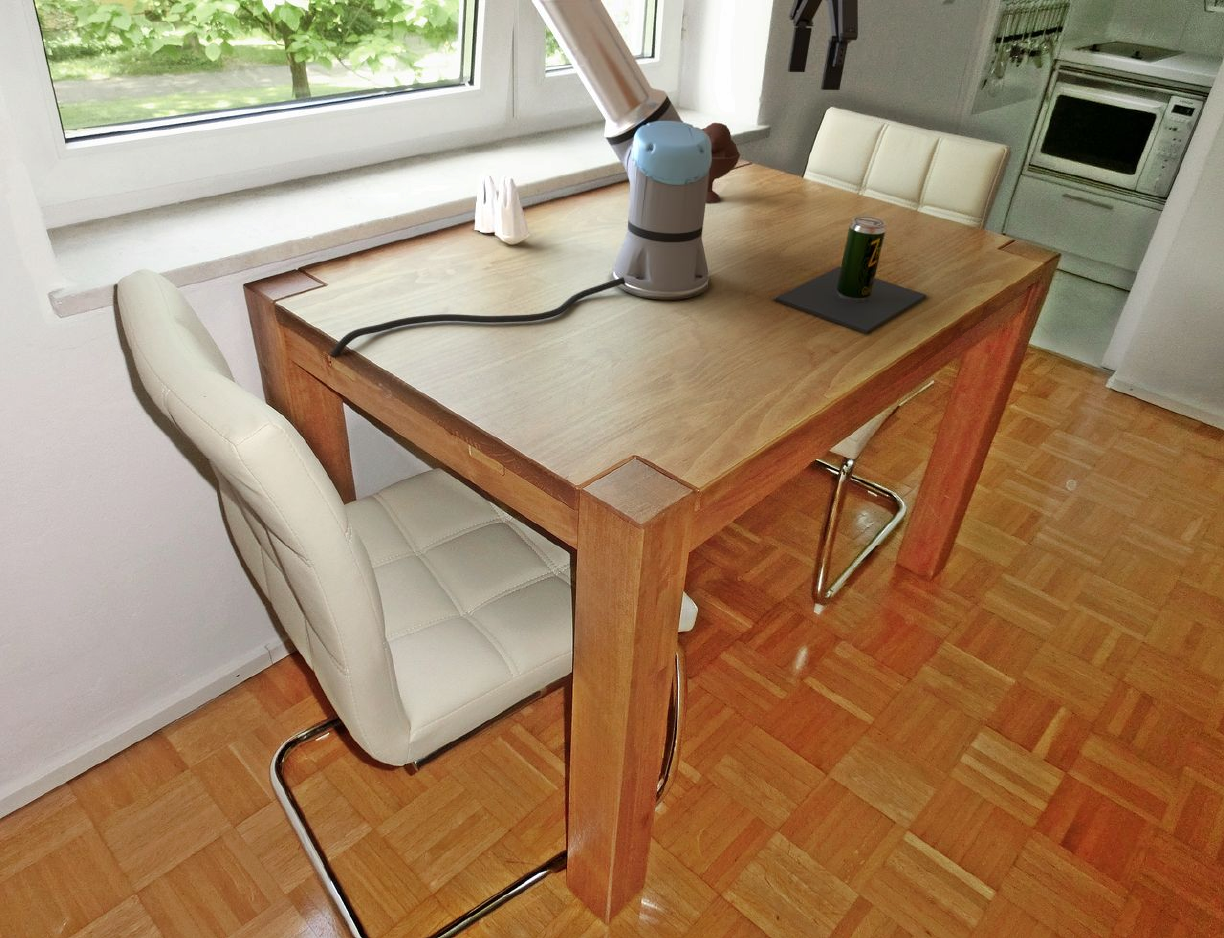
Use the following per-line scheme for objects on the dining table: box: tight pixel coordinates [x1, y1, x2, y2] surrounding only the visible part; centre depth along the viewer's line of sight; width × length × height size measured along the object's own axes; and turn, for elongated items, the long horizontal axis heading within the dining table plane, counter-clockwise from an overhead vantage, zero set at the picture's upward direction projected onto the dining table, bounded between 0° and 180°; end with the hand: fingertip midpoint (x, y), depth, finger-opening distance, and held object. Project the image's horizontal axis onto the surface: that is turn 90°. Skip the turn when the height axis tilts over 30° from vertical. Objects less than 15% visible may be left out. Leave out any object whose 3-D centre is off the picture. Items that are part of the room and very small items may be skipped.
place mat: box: [774, 266, 927, 335], centre depth 142 cm, size 20×16×1 cm
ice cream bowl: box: [700, 122, 741, 204], centre depth 178 cm, size 11×11×15 cm
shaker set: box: [474, 173, 530, 245], centre depth 154 cm, size 12×4×11 cm, turn 40°
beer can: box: [837, 215, 887, 302], centre depth 138 cm, size 5×5×12 cm
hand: (812, 80), depth 141 cm, fingers open, 13 cm apart
